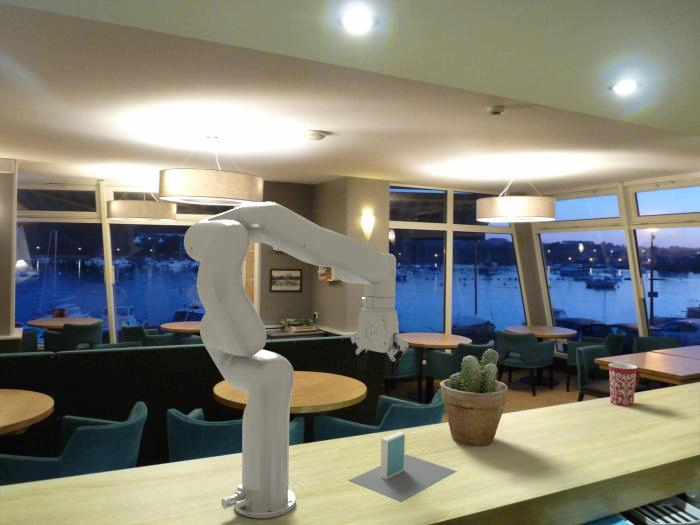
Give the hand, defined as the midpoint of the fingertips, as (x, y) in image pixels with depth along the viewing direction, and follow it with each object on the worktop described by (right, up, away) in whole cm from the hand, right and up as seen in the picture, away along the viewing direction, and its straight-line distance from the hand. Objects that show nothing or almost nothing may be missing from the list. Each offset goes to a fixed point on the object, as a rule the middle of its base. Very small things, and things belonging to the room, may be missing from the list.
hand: (377, 373), depth 133 cm
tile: (+3, -23, -5) cm, 23 cm away
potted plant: (+28, -23, +20) cm, 41 cm away
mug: (+91, -23, +60) cm, 111 cm away
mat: (+6, -23, -6) cm, 24 cm away
